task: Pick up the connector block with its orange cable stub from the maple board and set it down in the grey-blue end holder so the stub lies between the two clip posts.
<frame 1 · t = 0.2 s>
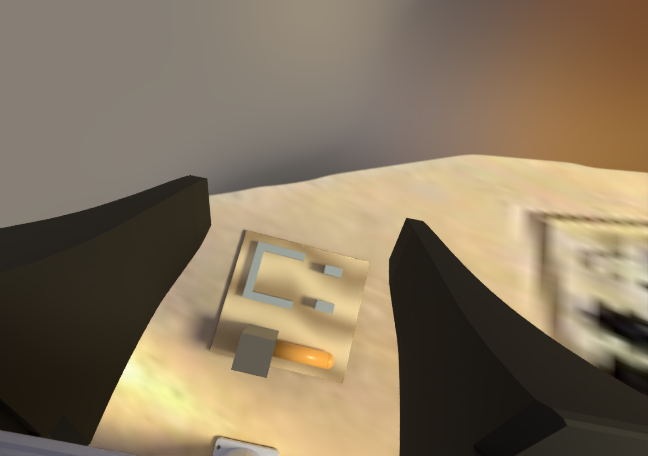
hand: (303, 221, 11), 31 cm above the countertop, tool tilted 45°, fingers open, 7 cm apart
clip: (327, 288, 40), resting on board
plug: (260, 342, 38), resting on board
holder: (278, 275, 40), resting on board
board: (293, 304, 40), on the countertop
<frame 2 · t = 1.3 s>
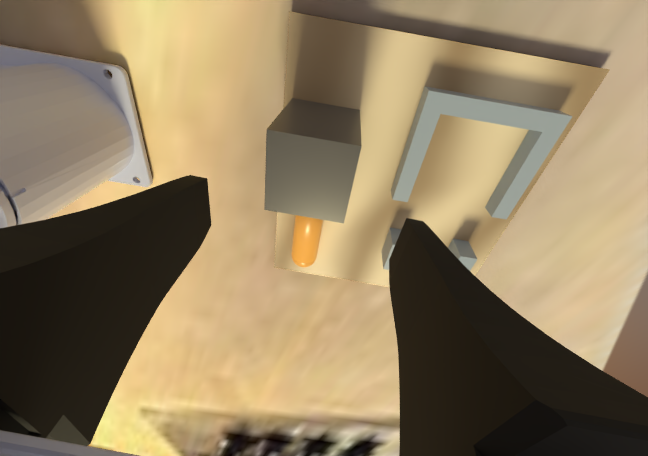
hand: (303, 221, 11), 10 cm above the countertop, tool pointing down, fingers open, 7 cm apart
clip: (423, 246, 22), resting on board
plug: (321, 137, 18), resting on board
holder: (462, 162, 18), resting on board
board: (397, 191, 20), on the countertop
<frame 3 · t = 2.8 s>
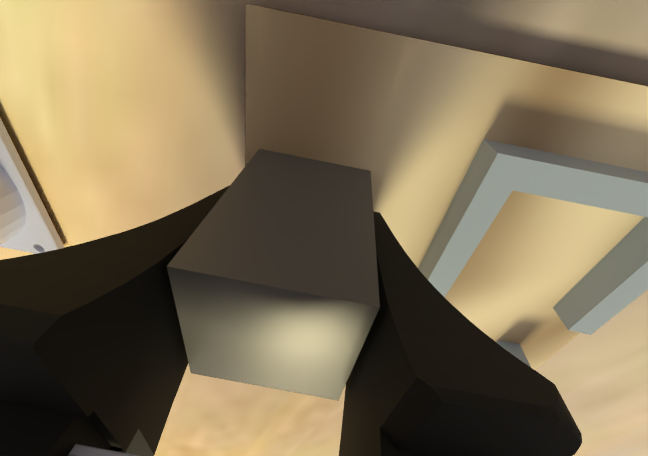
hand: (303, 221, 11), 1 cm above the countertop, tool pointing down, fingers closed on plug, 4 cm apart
clip: (453, 346, 16), resting on board
plug: (307, 206, 11), resting on board, touching gripper
holder: (529, 250, 11), resting on board
board: (420, 279, 13), on the countertop
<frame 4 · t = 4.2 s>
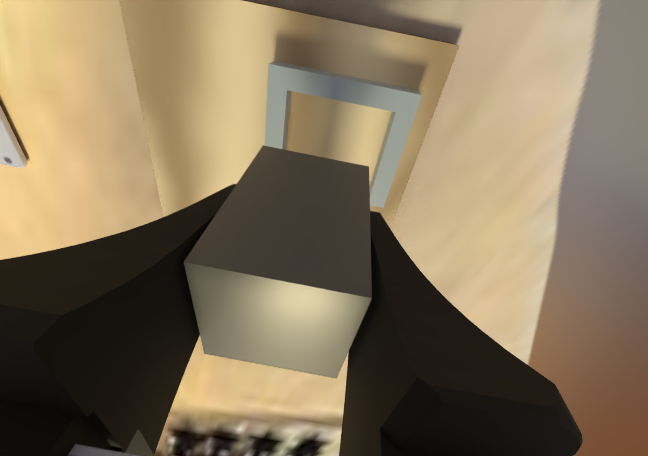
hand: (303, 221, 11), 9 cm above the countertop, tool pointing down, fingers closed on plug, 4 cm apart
plug: (309, 200, 12), point 7 cm above the countertop, touching gripper
holder: (333, 146, 17), resting on board
board: (277, 177, 19), on the countertop
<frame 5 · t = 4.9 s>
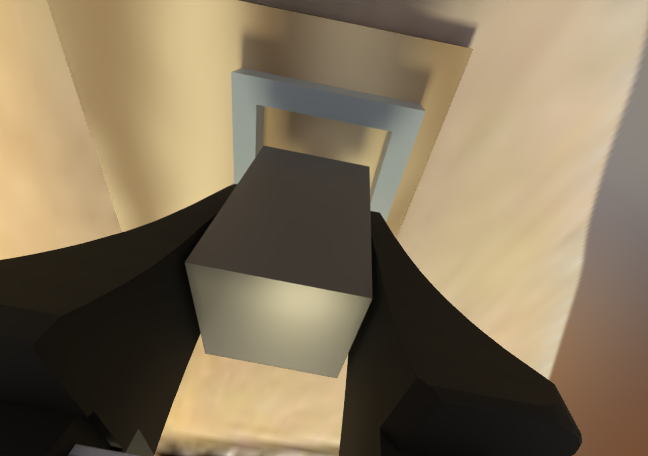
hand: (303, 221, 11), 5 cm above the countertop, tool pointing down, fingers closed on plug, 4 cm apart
plug: (309, 200, 12), point 3 cm above the countertop, touching gripper
holder: (317, 169, 14), resting on board
board: (254, 203, 16), on the countertop
when the fingers open (3 cm above the countertop, at t = 5.6 s): plug drops 1 cm, resting on board.
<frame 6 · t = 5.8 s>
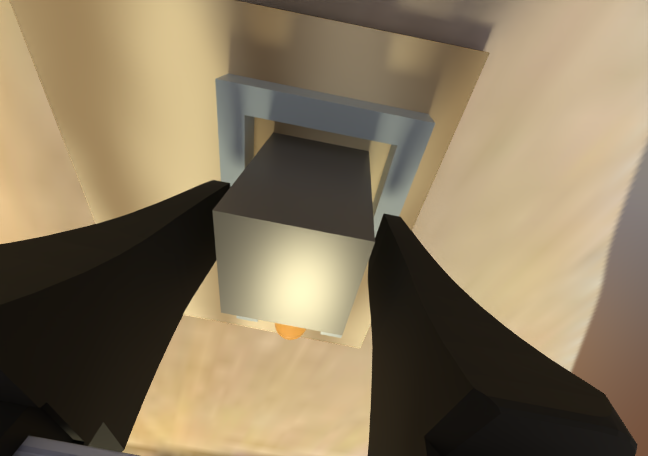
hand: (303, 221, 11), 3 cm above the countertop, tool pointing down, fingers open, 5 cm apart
plug: (314, 184, 13), resting on board
holder: (314, 183, 13), resting on board
board: (246, 218, 15), on the countertop
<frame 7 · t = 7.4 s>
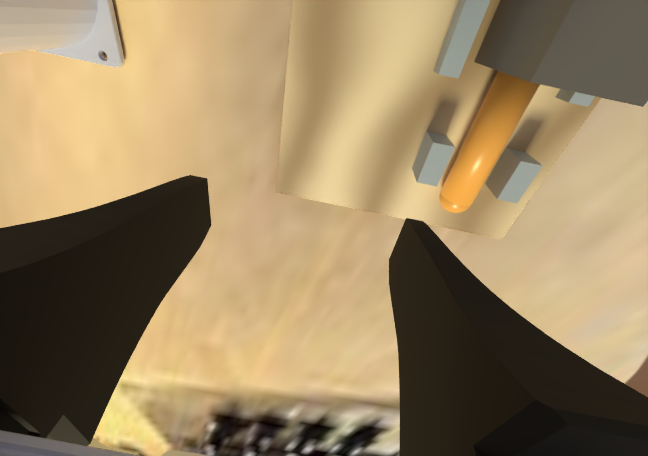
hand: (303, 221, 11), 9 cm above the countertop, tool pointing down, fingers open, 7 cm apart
clip: (466, 160, 18), resting on board
plug: (535, 22, 13), resting on board
holder: (536, 21, 13), resting on board
board: (440, 76, 15), on the countertop
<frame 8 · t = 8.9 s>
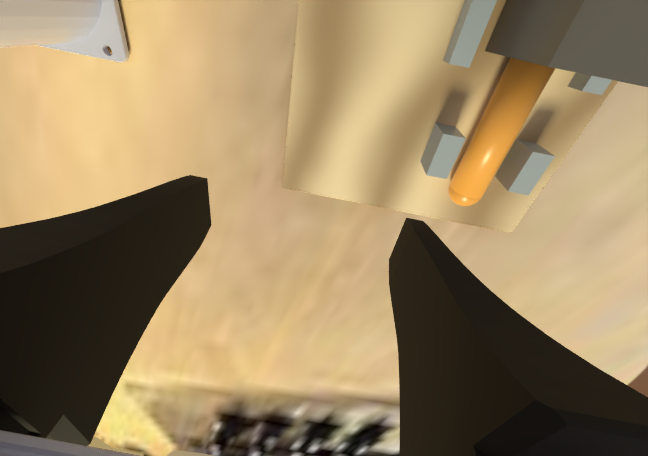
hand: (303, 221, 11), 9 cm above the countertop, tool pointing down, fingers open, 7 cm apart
clip: (476, 152, 17), resting on board
plug: (548, 9, 13), resting on board
holder: (548, 8, 13), resting on board
board: (449, 66, 15), on the countertop
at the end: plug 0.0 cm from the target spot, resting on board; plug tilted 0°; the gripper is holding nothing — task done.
